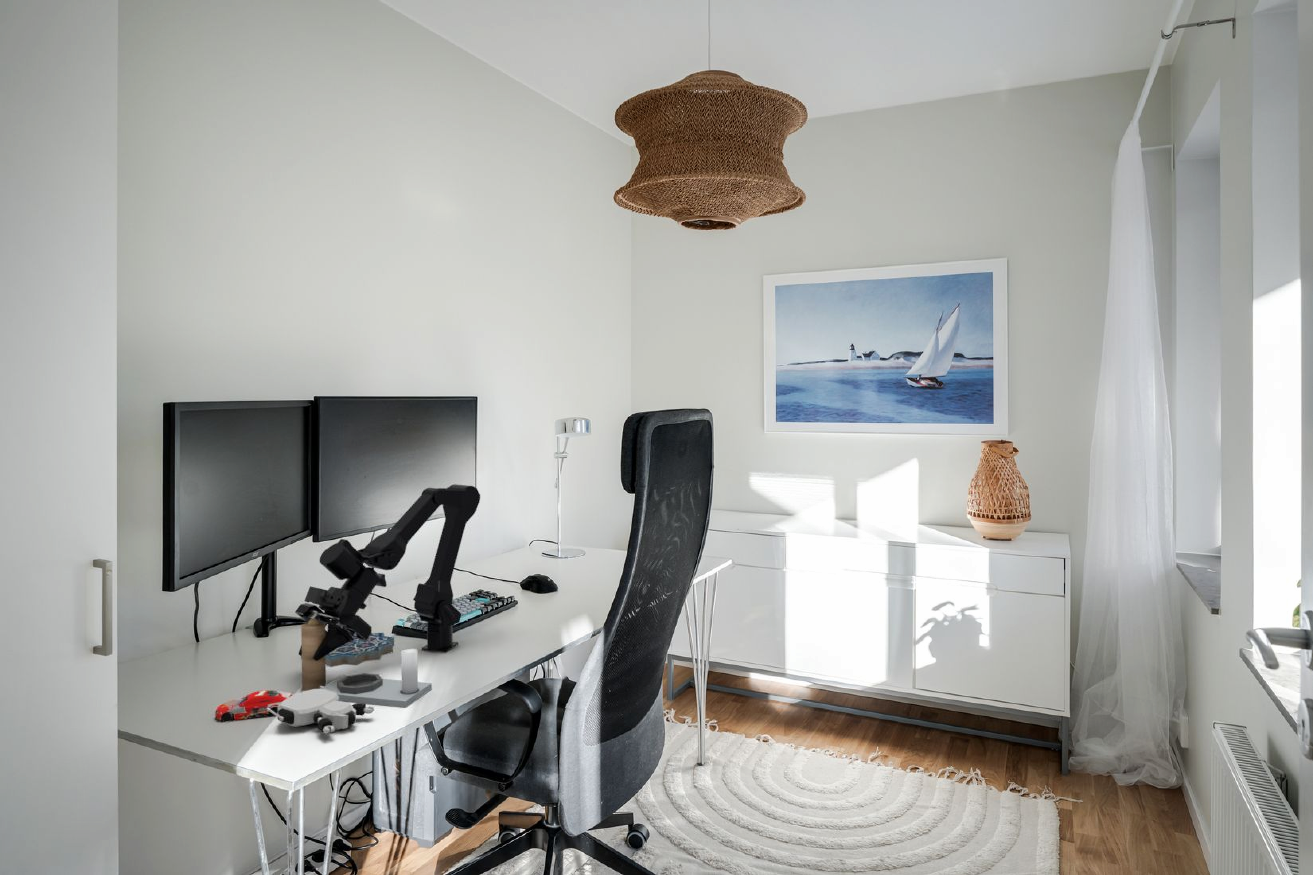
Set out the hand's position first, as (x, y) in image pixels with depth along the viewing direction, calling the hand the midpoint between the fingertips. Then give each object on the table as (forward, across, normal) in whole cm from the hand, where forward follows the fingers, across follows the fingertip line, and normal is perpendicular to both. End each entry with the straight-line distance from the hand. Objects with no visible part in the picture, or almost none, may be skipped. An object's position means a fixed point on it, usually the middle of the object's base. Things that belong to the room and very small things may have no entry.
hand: (307, 657), depth 157 cm
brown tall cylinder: (+4, 0, +6) cm, 7 cm away
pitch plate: (0, +13, +9) cm, 16 cm away
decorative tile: (-9, -14, +19) cm, 25 cm away
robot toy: (+11, +17, -1) cm, 21 cm away
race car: (+14, +3, -4) cm, 15 cm away
